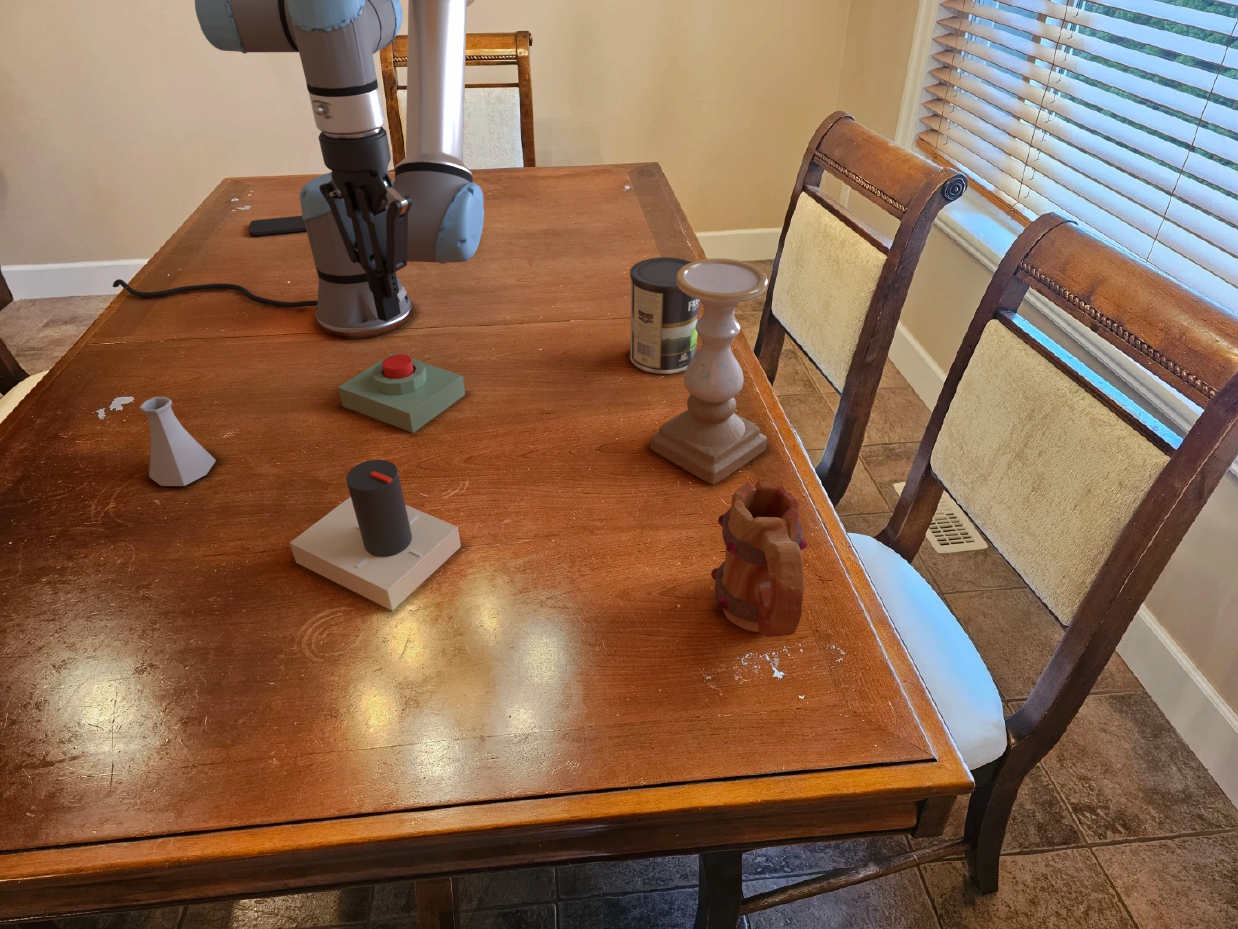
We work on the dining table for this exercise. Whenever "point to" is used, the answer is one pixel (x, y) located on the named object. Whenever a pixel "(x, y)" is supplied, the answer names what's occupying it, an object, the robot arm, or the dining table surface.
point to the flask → (173, 447)
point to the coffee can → (661, 317)
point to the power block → (402, 394)
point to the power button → (397, 366)
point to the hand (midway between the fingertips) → (389, 315)
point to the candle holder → (714, 376)
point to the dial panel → (380, 579)
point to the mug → (762, 560)
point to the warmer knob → (379, 507)
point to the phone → (276, 225)
